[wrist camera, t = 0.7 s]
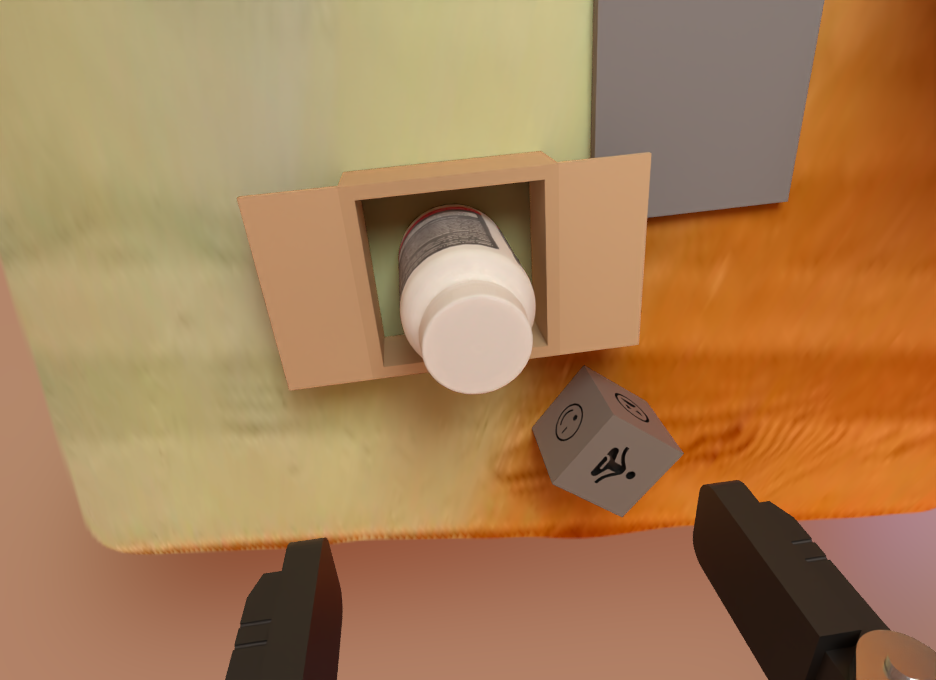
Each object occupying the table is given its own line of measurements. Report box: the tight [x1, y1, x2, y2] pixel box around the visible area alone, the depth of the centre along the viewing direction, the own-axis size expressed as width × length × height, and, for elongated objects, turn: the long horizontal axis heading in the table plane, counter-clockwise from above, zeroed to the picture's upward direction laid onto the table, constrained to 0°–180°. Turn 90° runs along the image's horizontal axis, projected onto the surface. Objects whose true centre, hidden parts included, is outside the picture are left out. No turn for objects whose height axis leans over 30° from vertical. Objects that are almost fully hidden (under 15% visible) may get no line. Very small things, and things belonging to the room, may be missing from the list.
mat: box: [591, 0, 824, 218], centre depth 26 cm, size 10×10×1 cm
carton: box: [237, 151, 652, 391], centre depth 27 cm, size 9×17×3 cm, turn 95°
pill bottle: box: [399, 204, 536, 394], centre depth 24 cm, size 5×5×10 cm
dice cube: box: [532, 365, 684, 517], centre depth 32 cm, size 5×5×5 cm
